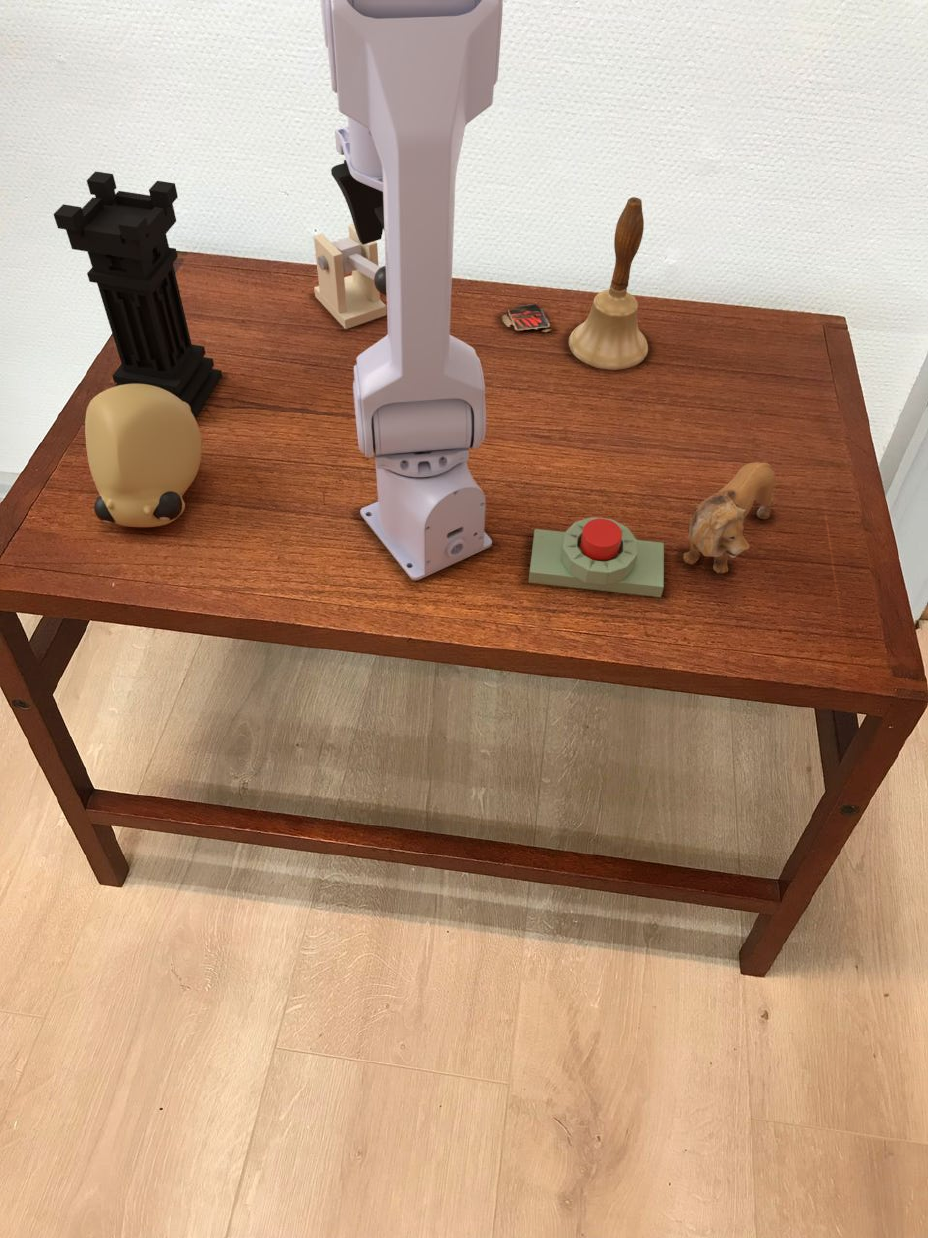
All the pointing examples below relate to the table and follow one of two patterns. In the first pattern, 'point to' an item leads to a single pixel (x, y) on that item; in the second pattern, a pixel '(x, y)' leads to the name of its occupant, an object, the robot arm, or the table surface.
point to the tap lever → (361, 263)
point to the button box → (597, 563)
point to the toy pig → (141, 454)
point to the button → (601, 539)
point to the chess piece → (140, 286)
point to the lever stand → (347, 284)
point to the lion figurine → (729, 515)
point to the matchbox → (526, 318)
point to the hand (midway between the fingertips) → (387, 256)
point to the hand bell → (615, 306)
